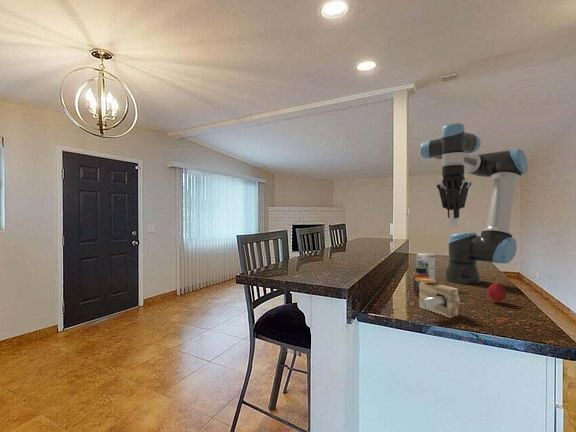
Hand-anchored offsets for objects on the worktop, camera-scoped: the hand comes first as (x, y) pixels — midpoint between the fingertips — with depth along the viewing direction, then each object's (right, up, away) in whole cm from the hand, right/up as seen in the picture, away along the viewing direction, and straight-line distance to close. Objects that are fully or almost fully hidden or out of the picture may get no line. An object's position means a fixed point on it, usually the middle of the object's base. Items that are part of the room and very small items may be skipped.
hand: (453, 226), depth 117 cm
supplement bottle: (-9, -29, +8) cm, 31 cm away
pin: (-13, -27, -16) cm, 34 cm away
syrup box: (0, -28, +24) cm, 37 cm away
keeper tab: (-15, -19, -10) cm, 27 cm away
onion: (+14, -29, -4) cm, 32 cm away
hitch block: (-12, -29, -12) cm, 34 cm away
